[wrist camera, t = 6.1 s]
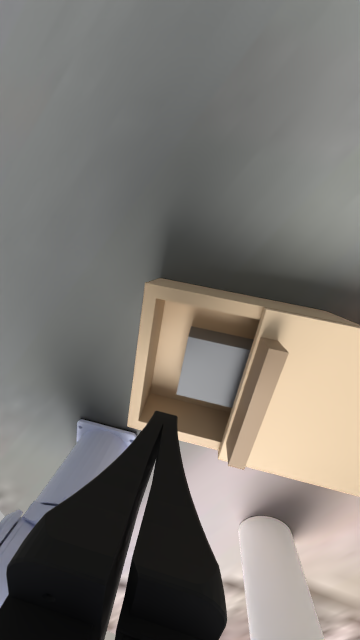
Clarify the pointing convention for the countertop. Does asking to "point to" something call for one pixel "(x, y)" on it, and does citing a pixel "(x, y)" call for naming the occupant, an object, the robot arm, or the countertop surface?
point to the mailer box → (197, 355)
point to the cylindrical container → (275, 583)
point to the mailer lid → (299, 403)
